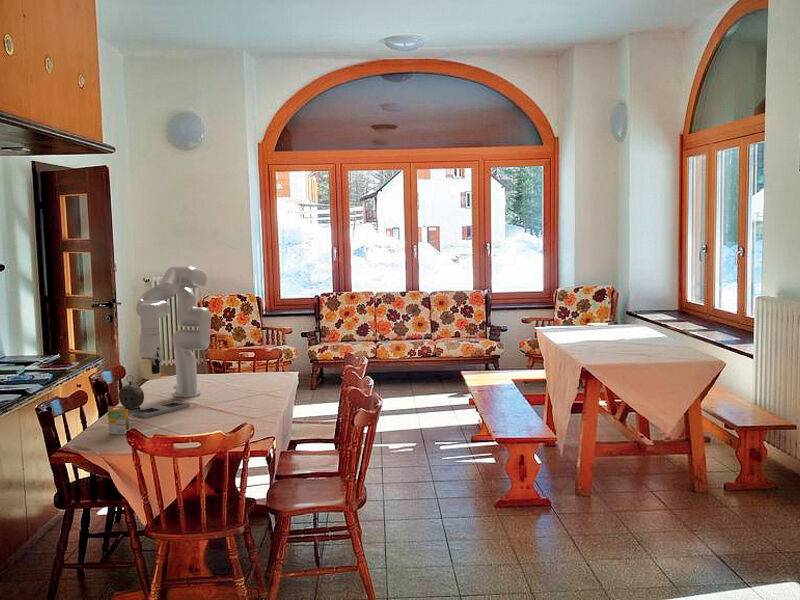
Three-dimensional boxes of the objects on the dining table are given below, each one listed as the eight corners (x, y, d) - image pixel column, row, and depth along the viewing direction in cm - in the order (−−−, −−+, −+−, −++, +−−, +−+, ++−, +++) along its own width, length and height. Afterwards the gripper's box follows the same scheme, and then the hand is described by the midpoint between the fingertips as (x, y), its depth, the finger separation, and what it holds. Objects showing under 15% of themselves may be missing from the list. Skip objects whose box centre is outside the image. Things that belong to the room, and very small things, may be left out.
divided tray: (132, 417, 370) (132, 411, 369) (176, 406, 389) (176, 400, 389) (145, 420, 364) (145, 414, 364) (189, 408, 383) (189, 403, 383)
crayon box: (129, 432, 345) (127, 404, 344) (126, 434, 342) (125, 406, 341) (111, 432, 346) (110, 404, 345) (108, 434, 343) (107, 406, 342)
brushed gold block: (144, 378, 371) (142, 358, 370) (153, 376, 375) (152, 356, 374) (151, 380, 368) (150, 359, 367) (160, 377, 372) (159, 357, 371)
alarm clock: (145, 410, 383) (143, 374, 381) (138, 413, 378) (136, 377, 376) (124, 408, 386) (123, 373, 384) (117, 411, 381) (115, 375, 379)
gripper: (130, 331, 371) (133, 372, 374) (155, 334, 361) (157, 376, 363) (145, 328, 377) (147, 369, 380) (169, 332, 367) (171, 373, 369)
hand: (152, 372), depth 372 cm, fingers closed on brushed gold block, 5 cm apart
